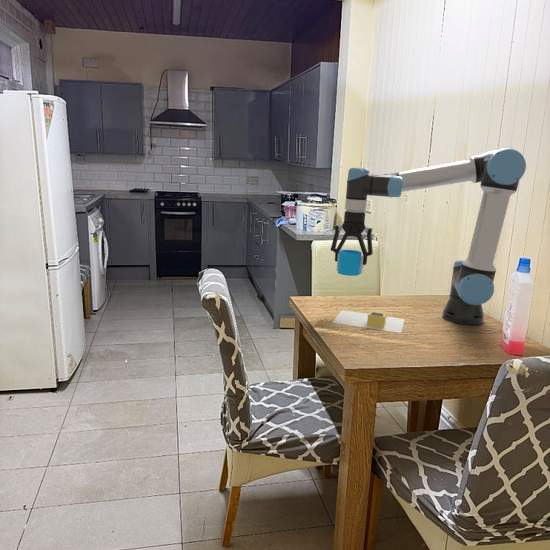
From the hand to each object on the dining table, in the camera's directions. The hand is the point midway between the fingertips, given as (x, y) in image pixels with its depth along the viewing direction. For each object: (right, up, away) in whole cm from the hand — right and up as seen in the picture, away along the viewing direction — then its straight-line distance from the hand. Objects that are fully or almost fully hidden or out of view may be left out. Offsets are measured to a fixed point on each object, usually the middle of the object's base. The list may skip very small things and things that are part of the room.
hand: (349, 271), depth 190 cm
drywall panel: (+6, -19, -4) cm, 21 cm away
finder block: (+8, -19, -8) cm, 22 cm away
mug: (0, 0, 0) cm, 1 cm away
